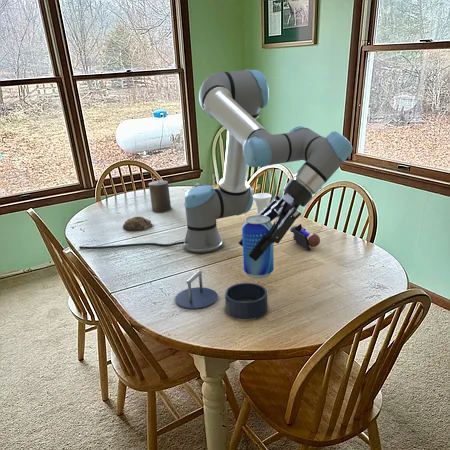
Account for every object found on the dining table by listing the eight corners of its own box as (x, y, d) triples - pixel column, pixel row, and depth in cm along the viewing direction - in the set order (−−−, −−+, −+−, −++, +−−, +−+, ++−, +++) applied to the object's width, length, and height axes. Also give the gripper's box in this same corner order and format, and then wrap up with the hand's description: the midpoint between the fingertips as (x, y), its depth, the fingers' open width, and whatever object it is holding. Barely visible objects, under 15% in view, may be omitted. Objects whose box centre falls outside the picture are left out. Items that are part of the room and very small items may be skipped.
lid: (167, 306, 136) (164, 281, 132) (188, 287, 147) (186, 263, 143) (205, 314, 131) (203, 288, 127) (224, 294, 142) (223, 269, 137)
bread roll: (119, 230, 201) (117, 219, 199) (133, 221, 211) (132, 211, 209) (144, 232, 197) (142, 221, 194) (157, 223, 207) (156, 213, 204)
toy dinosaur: (192, 197, 243) (191, 176, 237) (208, 196, 243) (206, 175, 238) (193, 209, 224) (191, 186, 218) (210, 207, 224) (208, 185, 219)
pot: (218, 316, 130) (217, 298, 127) (236, 297, 140) (235, 280, 137) (258, 323, 125) (258, 305, 122) (273, 303, 135) (273, 286, 132)
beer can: (239, 277, 123) (237, 222, 115) (249, 265, 130) (248, 213, 122) (268, 281, 120) (268, 225, 112) (277, 269, 127) (277, 215, 119)
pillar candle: (169, 212, 221) (166, 182, 214) (150, 212, 222) (146, 183, 214) (172, 206, 230) (169, 177, 223) (153, 207, 230) (149, 178, 223)
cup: (275, 214, 210) (275, 193, 205) (266, 219, 203) (265, 198, 198) (258, 211, 214) (258, 191, 209) (249, 217, 208) (248, 196, 203)
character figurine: (301, 238, 181) (321, 251, 169) (286, 240, 179) (304, 253, 166) (303, 220, 178) (323, 232, 165) (287, 222, 175) (307, 234, 163)
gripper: (330, 206, 109) (269, 274, 114) (296, 186, 127) (245, 245, 132) (311, 187, 106) (248, 258, 110) (279, 169, 124) (227, 231, 128)
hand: (246, 251), depth 121 cm, fingers closed on beer can, 8 cm apart
